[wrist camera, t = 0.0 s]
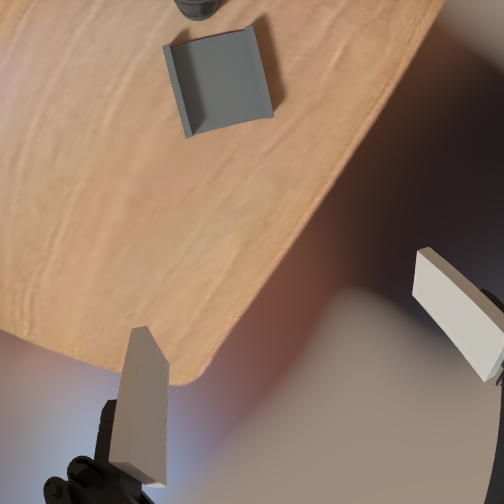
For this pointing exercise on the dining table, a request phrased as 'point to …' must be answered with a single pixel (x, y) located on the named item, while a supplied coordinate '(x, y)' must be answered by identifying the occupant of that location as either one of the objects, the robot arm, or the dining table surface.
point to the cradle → (218, 81)
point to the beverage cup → (197, 8)
